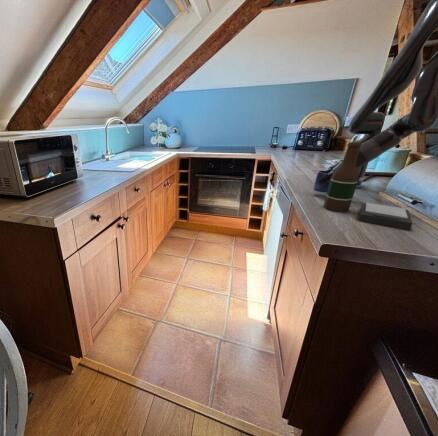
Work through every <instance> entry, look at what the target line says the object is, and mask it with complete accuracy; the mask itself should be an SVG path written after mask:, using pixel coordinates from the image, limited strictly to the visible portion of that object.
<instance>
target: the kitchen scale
mask: <svg viewBox="0 0 438 436" xmlns="http://www.w3.org/2000/svg"><path fill="white" fill-rule="evenodd" d="M358 222H363V223H369V224H374V225H380V226H385V227H390V228H396V229H401V230H406V231H411V228H412V226H413V220H412V216H411V214H410V210H408V209H406V208H405V207H398V206H393V205H392V206H391V205H386V204H385V205H384V204H378V203H371V202H366V203H364V202H362V203H361V206H360V210H359V216H358Z"/></svg>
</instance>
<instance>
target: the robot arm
mask: <svg viewBox="0 0 438 436" xmlns="http://www.w3.org/2000/svg"><path fill="white" fill-rule="evenodd" d="M437 29H438V0H430V2H429V3H428V4H427V5H426V7H425V8H424V10H423V12H422V13H421V15H420V16H419V18H418V20H417V22H416V23H415V25H414V27H413V29H412V31H411V32H410V34H409V35H408V37H407V39H406V41H405V43H404V44H403V45H402V47H401V49H400V50H399V52H398V54H397V55H396V57H395V58H394V59H393V60H392V62H391V63H390V65H389V66H388V68H387V69H386V71H385V72H384V73H383V75H382V77H381V78H380V79H379V81H378V83H377V85H376V86H375V87H374V89H373V91H372V92H371V93H370V95H369V96H368V97H367V99H366V100H365V101H364V103H363V104H362V105H361V106H360V108H359V109H358V110H357V111H356V112H355V114H354V115H353V116H352V118H351V120H350V121H349V123H348V128H347V129H348V132H349V134H351V135H363V136H362V137H361V138H360V139H357V140H355V141H353V142H360V143H361V146H360V148H359V152H358V157H357V161H356V168H357V170H358V174H359V178H358V182H357V186H356V189H358V188H361V187H362V183H363V182H366V181H367V180H369V179H370V178H372V177H376V174H375V175H371V174H369V175H368V176H366V177H365V175H366V172H367V168H368V166H369V163H370V162H372V161H373V160H375V159H377V158H378V157H380V156H381V155H383V154H384V153H386V152H388V151H389V150H391V149H393V148H394V147H396V146H398V145H399V144H400V143H401V142H402V141H403V140H404V139H406V138H407V137H409V136H411V135H412V134H414V133H422V132H425V131H427V130H429V129H431V128H432V127H434V125H435V124H436V122H437V120H438V50H437V51H436V52H435V53H434V55H433V56H431V58H430V59H429V60H428V61H427V63H426V64H424V66H423V52H424V51H423V50H424V46H425V45H426V43H427V42H428V40H429V38H430V37H431V36H432V34H433V33H434V32H435V31H436V30H437ZM415 79H416V80H415ZM414 81H415V83H414V86H413V89H412V93H411V98H410V100H411V102H412V103H411V108H410V112H409V113H407V114H405V115H403V116H402V117H400V118H399V119H398V120H396V121H395V122H394V123H392V124H391V125H390V126H388V127H387V128H386V129H383V127H384V124H385V120H386V117H385V114H384V113H383V112H380V111H377V110H378V109H379V108H381V107H382V106H383V105H385V104H387V103H389V102H390V101H392V100H394V99H395V98H397V97H399V96H400V95H401V94H403V93H404V92H405V91H406V90H407V89H408V88H409V87H410V86H411V84H412V83H413V82H414ZM342 161H343V159H339V161H337V162H335V163H334V164H332V165H331V166H329V167H328V168H327V169H326V170H325V171H331V172H330V173H328V174H327V175H326V176H324V177H322V178H321V179H319V182H320V183H321V184H323V183H325V182H327V181H328V180H330V179H331V177H332V174H333V173H334V171H335V170H336V169H337V168H338V167H339V166H340V165H341V163H342Z"/></svg>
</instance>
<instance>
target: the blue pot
mask: <svg viewBox="0 0 438 436" xmlns="http://www.w3.org/2000/svg"><path fill="white" fill-rule="evenodd" d="M330 172H331V171H326V170H317V173H316V177H315V181H314V185H313V191H314V192H318V193H327V191H328V187H329V184H330V180H331V179H330V180H328V181H327V182H325V183H323V184H321V183H320V182H319V179H321V178H322V177H324V176H326V175H327V174H328V173H330Z"/></svg>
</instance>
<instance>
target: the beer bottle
mask: <svg viewBox="0 0 438 436" xmlns="http://www.w3.org/2000/svg"><path fill="white" fill-rule="evenodd" d="M360 146H361V143H360V142H354V141H350V142H348V143H347V148H346V151H345V153H344V157H343V159H342V160H343V161H342V163H341V165H340V166H339V167H338V168H337V169H336V170H335V171H334V173H333V174H332V177H331V180H330V184H329V187H328V191H327V192H326V195H325V198H324V202H323V207H324V208H325V209H326V210H328V211H332V212H336V213H337V212H338V213H344V212H348V211H349V210H350V207H351V204H352V201H353V198H354V196H355V195H354V194H355V191H356V189H357V188H356V186H357V182H358V178H359V174H358V170H357V168H356V161H357V157H358V152H359V148H360Z"/></svg>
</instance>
